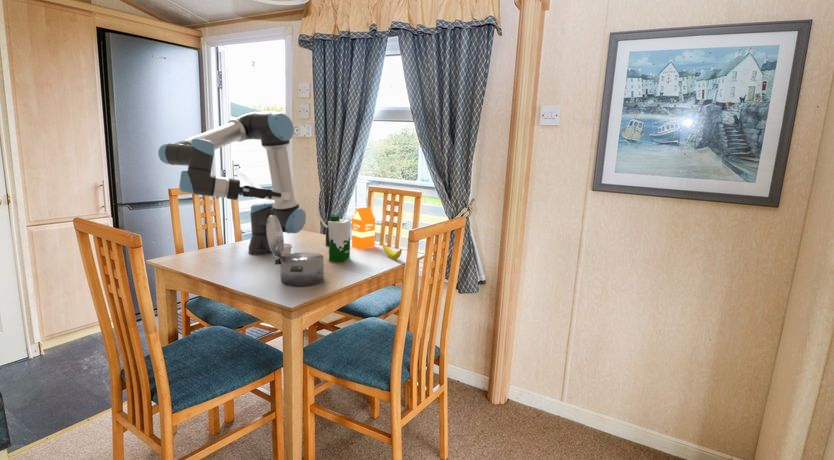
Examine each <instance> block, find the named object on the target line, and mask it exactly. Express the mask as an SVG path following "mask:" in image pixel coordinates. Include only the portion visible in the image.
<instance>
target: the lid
mask: <svg viewBox="0 0 834 460" xmlns="http://www.w3.org/2000/svg"><path fill="white" fill-rule="evenodd" d="M266 233H267V240H268V244H269V247H270V250H271V252H272V254H271V255H273V257H275V258H277V257H280V256H282V254H283V249H284V244H285V242H284V241H285V239H284V232H282V228H281V225H280V222H279V220H278V218H277V217H276V216H275V215H270V216H269V217H268V219H267V223H266Z"/></svg>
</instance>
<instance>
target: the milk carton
mask: <svg viewBox="0 0 834 460" xmlns="http://www.w3.org/2000/svg"><path fill="white" fill-rule="evenodd" d="M327 227H329V246H328V256H329V257H328V261H329V262H338V263H345V262H346V261H348V260H349V259H350V257H351V256H350V255H351V220H350V219H344V218H343V219H342V218H340V215H337V214H335V215H333V214H332V215H330V216H329V220H328V221H327Z"/></svg>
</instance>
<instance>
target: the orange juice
mask: <svg viewBox="0 0 834 460" xmlns="http://www.w3.org/2000/svg"><path fill="white" fill-rule="evenodd" d="M375 221H376V218H375V216H374V214H373V211H372V209H371V207H370V206H368V207H360V208H356V209H355V212H354V214H353V215H352V218H351V248H356V249H359V250H365V249H370V248H375V244H376V237H375V236H376V222H375Z"/></svg>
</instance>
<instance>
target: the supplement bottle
mask: <svg viewBox="0 0 834 460" xmlns="http://www.w3.org/2000/svg"><path fill="white" fill-rule="evenodd" d="M325 245H326V246H327V247H329V227H328V226H326V227H325Z"/></svg>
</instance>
